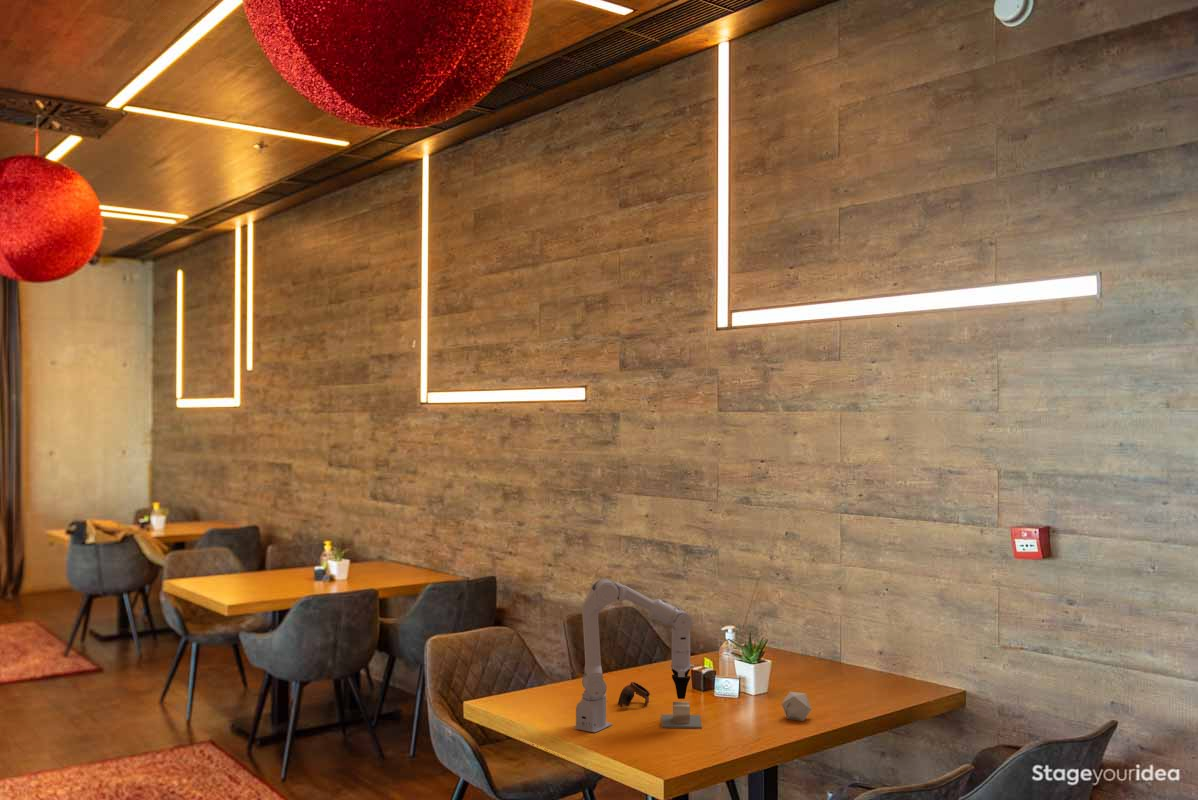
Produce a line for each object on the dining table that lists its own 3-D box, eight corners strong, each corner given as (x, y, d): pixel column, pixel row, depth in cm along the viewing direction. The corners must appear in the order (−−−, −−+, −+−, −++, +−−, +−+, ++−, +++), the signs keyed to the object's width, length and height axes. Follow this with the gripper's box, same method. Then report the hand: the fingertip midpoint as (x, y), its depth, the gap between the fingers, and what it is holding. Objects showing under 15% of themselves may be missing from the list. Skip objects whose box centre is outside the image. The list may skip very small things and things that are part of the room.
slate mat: (701, 728, 297) (701, 726, 297) (661, 728, 297) (661, 726, 297) (700, 717, 309) (700, 715, 309) (661, 716, 309) (661, 714, 309)
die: (780, 716, 311) (774, 696, 306) (800, 700, 314) (795, 680, 309) (797, 732, 305) (792, 712, 300) (818, 715, 307) (813, 695, 302)
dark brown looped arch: (621, 701, 328) (633, 679, 329) (644, 717, 324) (656, 695, 325) (608, 701, 318) (621, 678, 318) (631, 718, 313) (645, 695, 314)
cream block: (689, 723, 300) (689, 706, 301) (673, 722, 301) (673, 706, 301) (689, 718, 305) (689, 701, 306) (672, 718, 306) (672, 701, 306)
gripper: (694, 656, 296) (694, 701, 296) (693, 645, 311) (693, 689, 310) (671, 655, 297) (671, 701, 296) (670, 645, 311) (670, 688, 311)
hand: (680, 695), depth 303 cm, fingers open, 7 cm apart
